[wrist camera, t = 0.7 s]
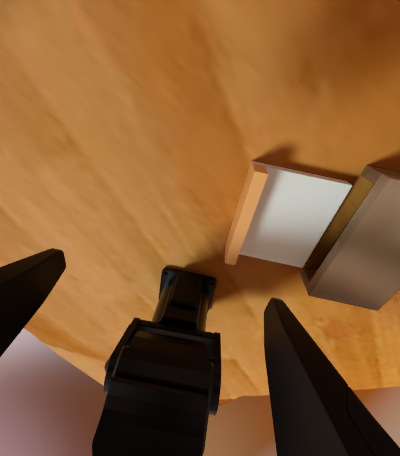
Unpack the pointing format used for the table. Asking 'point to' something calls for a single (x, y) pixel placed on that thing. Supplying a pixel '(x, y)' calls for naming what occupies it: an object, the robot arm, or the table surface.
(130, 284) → the table surface
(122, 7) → the table surface
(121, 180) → the table surface
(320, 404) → the robot arm
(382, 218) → the taupe rectangular slab
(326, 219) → the plate
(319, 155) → the table surface
